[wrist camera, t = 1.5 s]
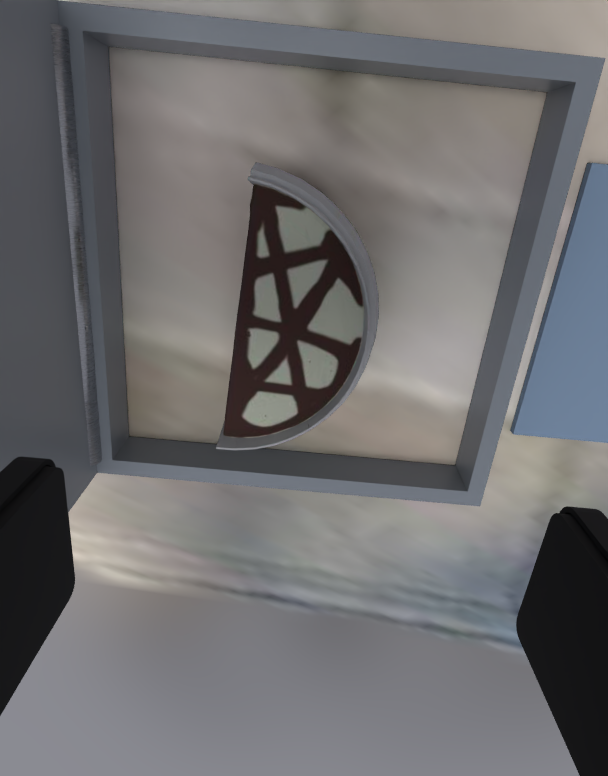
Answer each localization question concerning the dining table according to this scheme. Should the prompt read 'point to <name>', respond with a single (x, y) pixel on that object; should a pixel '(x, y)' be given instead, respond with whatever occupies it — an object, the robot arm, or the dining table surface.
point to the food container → (297, 314)
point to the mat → (574, 331)
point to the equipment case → (101, 244)
